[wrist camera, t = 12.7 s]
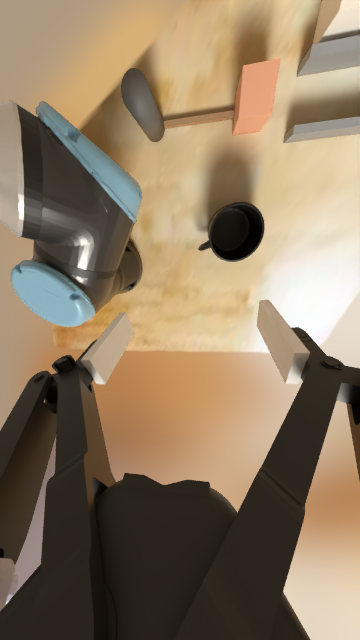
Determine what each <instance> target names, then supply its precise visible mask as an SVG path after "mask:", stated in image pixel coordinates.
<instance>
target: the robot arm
mask: <svg viewBox="0 0 360 640" xmlns="http://www.w3.org/2000/svg"><path fill="white" fill-rule="evenodd" d="M36 114H37V115H38V117H36V116H34V115H33V114H31V113H30V112H28V111H26V110H25V109H23V108H22V107H20V106H19V105H17V104H16V103H14V102H13V101H11V100H9V101H6V102H3V103H0V221H1V222H2V223H3V224H4V225H5V226H6V227H8V228H9V229H10V230H11V231H12V232H13V233H14V234H15V235H16V236H20V237H24V238H29V239H33V240H34V255H33V258H32V260H25V261H22V262H21V263H19V264H18V265H16V266H15V267H14V268H13V269H12V271H11V282H12V286H13V288H14V290H15V292H16V294H17V295H18V296H19V297H20V299H21V300H22V301H23V303H25V304H26V305H27V306H28V307H29V308H30V309H31V310H32V311H33V312H34V313H36V314H37V315H39V316H40V317H42V318H43V319H45V320H47V321H49V322H51V323H54V324H57V325H60V326H65V327H71V326H79V325H81V324H83V323H84V322H86V321H87V320H88V319H91V318H92V317H93V316H94V315H95V313H97V312H98V311H99V310H100V309H101V308H102V307H103V306H104V305H105V304H106V303H107V302H109V301H110V300H111V299H112V298H113V297H114V296H115V295H117V294H122V293H126V292H128V291H130V290H132V289H133V288H134V287H135V286H136V285H137V284H138V283H139V281H140V279H141V276H142V262H141V259H140V256H139V254H138V252H137V250H136V249H135V247H134V246H133V245H132V244H131V243H130V242H129V241H128V240H129V237H130V234H131V232H132V229H133V226H134V223H135V224H136V222H137V220H136V217H137V214H138V210H139V207H140V204H141V200H142V192H141V188H140V186H139V184H138V183H137V181H136V180H135V179H134V178H133V177H131V176H130V175H129V174H128V173H127V172H126V171H125V170H124V169H123V168H121V167H120V166H119V165H118V164H117V163H116V162H115V161H114V160H112V159H111V158H110V157H109V156H108V155H107V154H106V153H104V152H103V151H102V150H101V149H100V148H99V147H97V146H96V145H95V144H94V143H93V142H92V141H91V140H89V139H88V138H87V137H86V136H85V135H83V134H82V133H81V132H80V131H79V130H78V129H77V128H75V127H74V126H73V125H72V124H71V123H69V122H68V121H67V120H66V119H65V118H64V117H63V116H62V115H61V114H59V113H58V112H57V111H56V110H55V109H54V108H52V107H51V106H50V105H49V104H47V103H46V102H44V101H42V102H40V104H39V106H38V107H36ZM257 327H258V329H259V331H260V333H261V335H262V337H263V339H264V341H265V343H266V345H267V347H268V349H269V351H270V353H271V355H272V357H273V359H274V361H275V363H276V365H277V367H278V369H279V371H280V373H281V375H282V377H283V379H284V382H285V383H286V384H299V382H300V379H302V380H303V383H302V385H301V387H300V389H299V391H298V393H297V396H296V397H295V399H294V401H293V403H292V405H291V408H290V410H289V412H288V414H287V416H286V418H285V420H284V422H283V424H282V426H281V428H280V430H279V432H278V434H277V436H276V438H275V440H274V442H273V444H272V446H271V448H270V451H269V452H268V455H267V457H266V459H265V461H264V463H263V465H262V467H261V468H260V469H259V471H258V473H257V475H256V477H255V479H254V481H253V483H252V485H251V487H250V489H249V491H248V493H247V495H246V497H245V499H244V501H243V503H242V505H241V507H240V509H239V511H238V513H237V511H236V510H235V509H234V507H233V506H232V505H231V503H230V502H229V501H228V500H227V499H226V498H225V497H224V496H223V495H222V494H220V493H219V492H217V491H216V490H214V489H212V488H210V484H209V482H203V481H194V480H184V481H180V482H177V483H172V484H168V485H162V484H160V483H158V482H156V481H154V480H152V479H150V478H148V477H147V476H145V475H139V474H129V473H125V474H124V477H123V480H120V481H118V482H116V481H115V479H114V477H113V475H112V472H111V469H110V465H109V461H108V455H107V451H106V446H105V441H104V437H103V432H102V427H101V422H100V417H99V413H98V408H97V403H96V399H95V393H94V389H93V385H92V384H91V383H92V381H93V380H95V382H96V383H97V384H106V382H107V380H108V379H109V377H110V375H111V373H112V372H113V370H114V368H115V366H116V365H117V363H118V361H119V359H120V357H121V356H122V354H123V352H124V350H125V349H126V347H127V345H128V343H129V342H130V340H131V338H132V336H133V335H134V331H133V329H132V326H131V323H130V321H129V318H128V316H127V313H119V314H118V316H117V317H116V318H115V319H114V320H113V322H112V323H111V324H110V325H109V326H108V328H107V329H106V330H105V331H104V332H103V334H102V335H101V336H100V337H99V338H98V339H97V340H95V341H94V342H93V343H91V344H90V346H89V347H88V348H87V349H86V350H85V352H84V353H83V354H82V355H81V356H80V357H79V358H78V360H77V361H76V362H75V360H74V359H73V357H72V356H70V355H66V356H63V357H61V358H59V359H58V360H56V361H55V362H54V363H53V365H52V367H53V369H54V370H55V371H56V372H57V373H55V374H52V375H51V374H50V373H49V372H48V371H42V372H39V373H37V374H36V375H34V376H33V377H32V378H31V379H30V380H29V382H28V383H27V385H26V387H25V389H24V391H23V392H22V394H21V395H20V397H19V399H18V401H17V403H16V404H15V406H14V408H13V410H12V411H11V413H10V415H9V417H8V418H7V420H6V422H5V424H4V425H3V427H2V429H1V431H0V640H310V638H309V637H308V635H307V633H306V631H305V630H304V628H303V626H302V625H301V623H300V621H299V619H298V617H297V616H296V614H295V612H294V610H293V609H292V607H291V605H290V603H289V602H288V600H287V598H286V596H285V595H284V593H283V589H284V586H285V582H286V579H287V575H288V572H289V569H290V565H291V562H292V558H293V555H294V551H295V548H296V545H297V541H298V537H299V534H300V530H301V527H302V523H303V519H304V515H305V503H306V499H307V496H308V492H309V489H310V486H311V482H312V479H313V475H314V472H315V469H316V466H317V462H318V459H319V455H320V452H321V449H322V446H323V443H324V439H325V436H326V433H327V429H328V426H329V422H330V419H331V416H332V413H333V409H334V406H335V403H336V400H337V401H341V402H345V403H346V404H347V409H348V415H349V421H350V427H351V433H352V439H353V445H354V451H355V456H356V462H357V468H358V474H359V480H360V369H359V368H354V367H348V366H344V365H343V363H342V362H340V361H339V360H337V359H335V358H333V357H330V356H327V355H326V354H325V353H324V352H323V351H322V350H321V349H320V348H319V346H318V345H317V344H316V343H315V342H314V341H313V340H312V338H311V337H310V336H309V335H308V334H307V333H306V332H305V331H304V330H302V329H300V328H299V327H296V328H290V326H289V325H288V324H287V323H286V321H285V320H284V319H283V317H282V316H281V315H280V314H279V312H278V311H277V310H276V308H275V307H274V306H273V305H272V303H271V302H270V301H269V300H261V301H260V302H259V310H258V319H257ZM44 400H45V403H44ZM55 437H56V463H55V474H54V476H53V477H51V478H50V479H49V481H48V482H47V486H46V497H45V512H44V527H43V542H42V557H41V565H40V566H39V567H38V568H37V569H36V570H35V571H34V573H33V574H32V575H31V576H30V577H29V579H28V580H27V581H26V582H25V583H24V584H23V585H22V587H21V588H20V589H19V590H18V591H17V592H16V594H15V595H14V596H13V594H14V592H15V590H16V588H17V583H18V576H17V575H14V572H15V564H16V562H17V560H18V557H19V555H20V552H21V549H22V547H23V544H24V542H25V539H26V536H27V533H28V530H29V527H30V524H31V521H32V517H33V514H34V510H35V507H36V503H37V500H38V496H39V493H40V489H41V486H42V482H43V479H44V475H45V472H46V468H47V465H48V461H49V458H50V454H51V451H52V447H53V443H54V440H55ZM12 596H13V597H12Z"/></svg>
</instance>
